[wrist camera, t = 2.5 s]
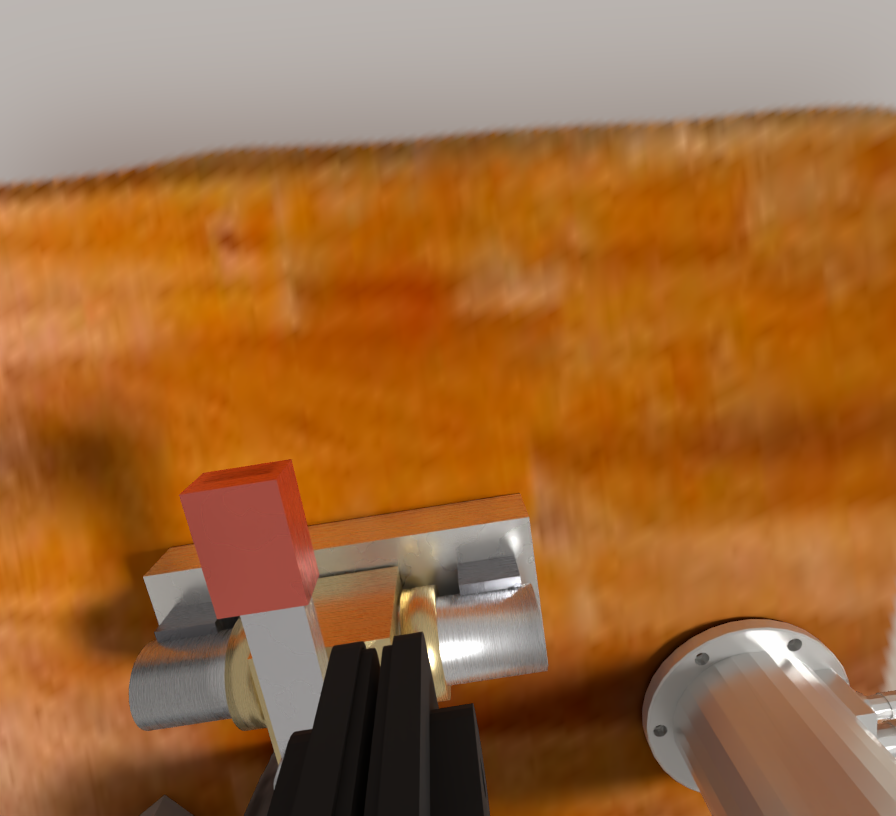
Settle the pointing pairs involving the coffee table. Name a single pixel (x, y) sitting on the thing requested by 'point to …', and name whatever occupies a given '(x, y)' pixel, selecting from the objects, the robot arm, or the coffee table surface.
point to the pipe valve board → (382, 547)
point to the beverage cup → (263, 790)
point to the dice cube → (166, 808)
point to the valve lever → (264, 581)
